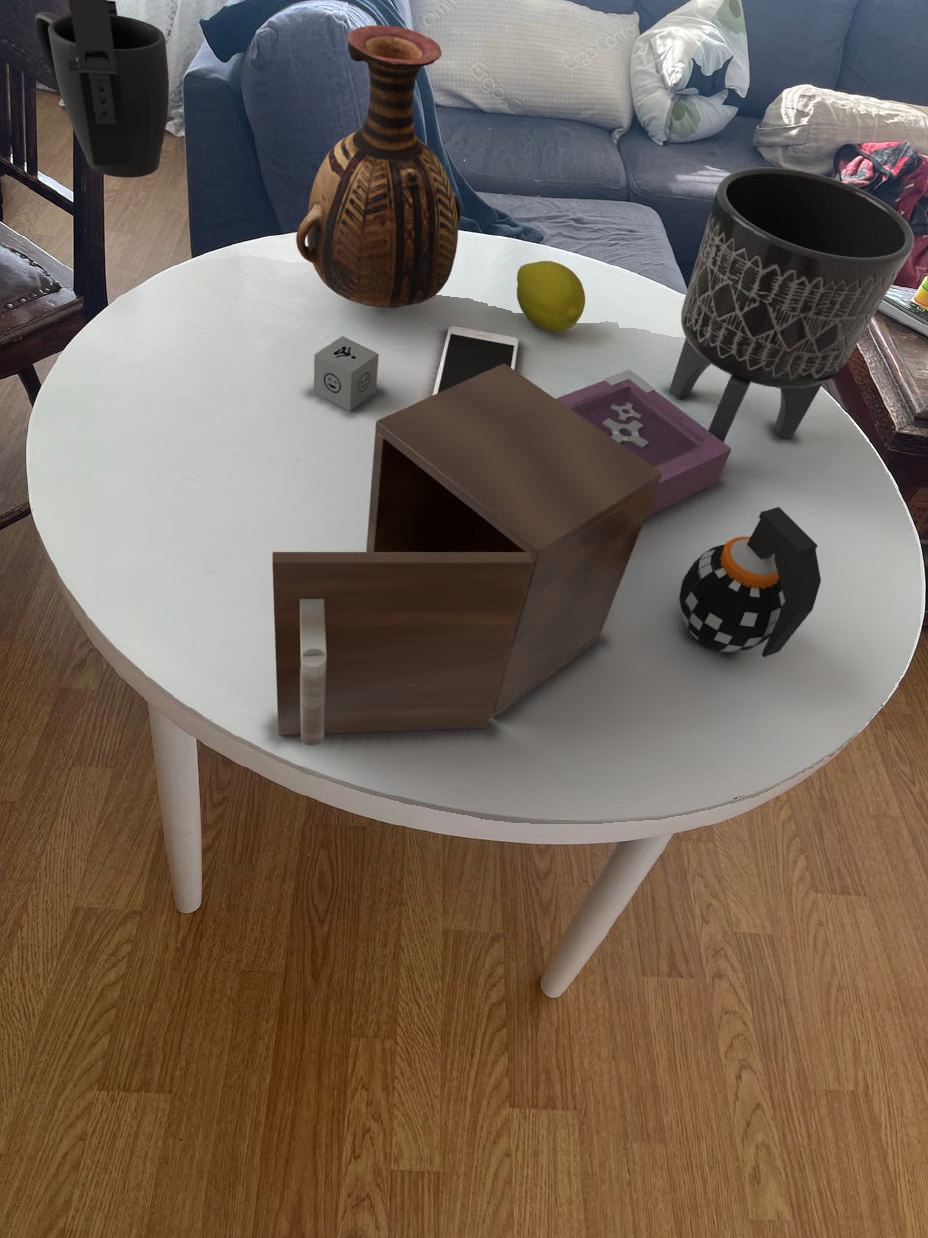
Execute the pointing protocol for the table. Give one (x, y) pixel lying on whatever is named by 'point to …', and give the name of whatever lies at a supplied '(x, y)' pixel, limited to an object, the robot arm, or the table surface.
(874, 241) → the planter
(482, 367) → the cell phone
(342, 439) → the table surface
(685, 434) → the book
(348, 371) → the dice cube
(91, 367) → the table surface
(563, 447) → the cupboard
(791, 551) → the grenade
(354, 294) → the vase
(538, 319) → the lemon
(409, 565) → the cupboard door
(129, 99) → the mug
